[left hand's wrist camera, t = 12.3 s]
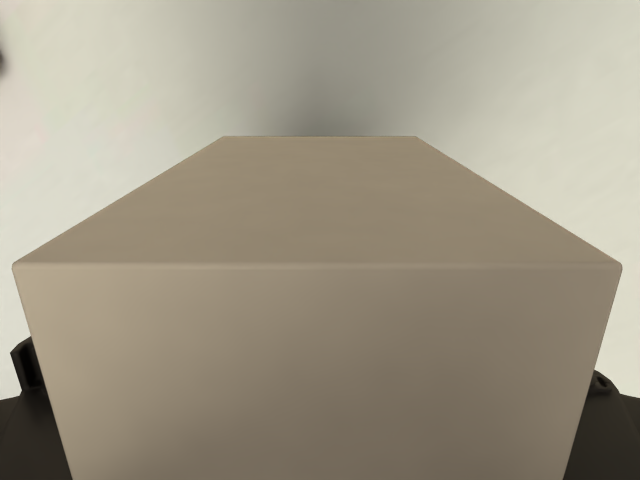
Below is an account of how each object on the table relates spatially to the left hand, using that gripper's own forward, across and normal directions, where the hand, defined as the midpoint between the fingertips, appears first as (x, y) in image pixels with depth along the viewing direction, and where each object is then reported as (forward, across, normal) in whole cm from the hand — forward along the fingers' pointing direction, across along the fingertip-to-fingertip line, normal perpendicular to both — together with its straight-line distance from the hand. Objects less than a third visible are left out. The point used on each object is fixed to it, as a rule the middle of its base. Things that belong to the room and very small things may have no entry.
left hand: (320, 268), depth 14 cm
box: (+1, 0, -8) cm, 8 cm away
